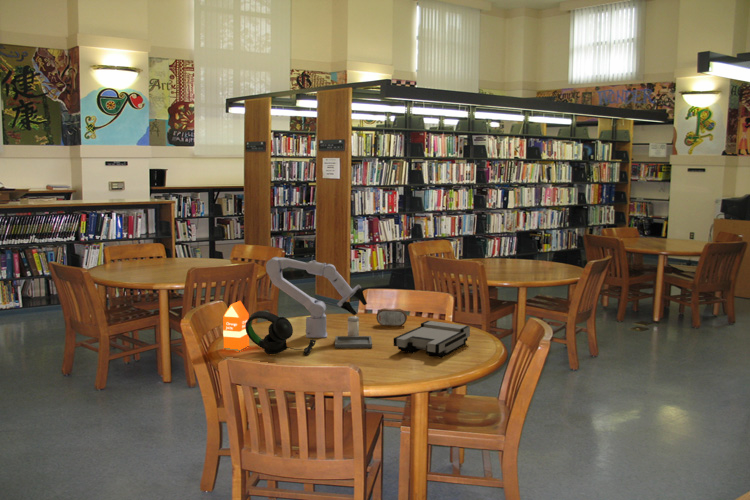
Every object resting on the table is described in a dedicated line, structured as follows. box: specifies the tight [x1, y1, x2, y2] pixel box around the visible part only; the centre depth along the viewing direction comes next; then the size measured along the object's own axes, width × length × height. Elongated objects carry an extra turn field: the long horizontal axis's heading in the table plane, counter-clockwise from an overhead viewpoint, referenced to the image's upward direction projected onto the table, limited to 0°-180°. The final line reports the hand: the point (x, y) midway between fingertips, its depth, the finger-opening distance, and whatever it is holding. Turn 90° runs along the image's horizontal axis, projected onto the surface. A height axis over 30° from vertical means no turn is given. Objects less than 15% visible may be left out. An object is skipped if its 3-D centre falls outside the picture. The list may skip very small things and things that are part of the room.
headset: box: [245, 310, 317, 356], centre depth 277 cm, size 18×14×29 cm
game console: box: [393, 320, 471, 359], centre depth 286 cm, size 21×32×8 cm, turn 149°
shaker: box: [347, 315, 360, 336], centre depth 305 cm, size 5×5×9 cm
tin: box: [375, 308, 408, 327], centre depth 328 cm, size 15×3×8 cm, turn 84°
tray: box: [334, 335, 373, 349], centre depth 293 cm, size 16×14×2 cm
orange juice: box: [222, 300, 250, 350], centre depth 284 cm, size 8×9×20 cm
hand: (360, 309), depth 305 cm, fingers open, 7 cm apart
